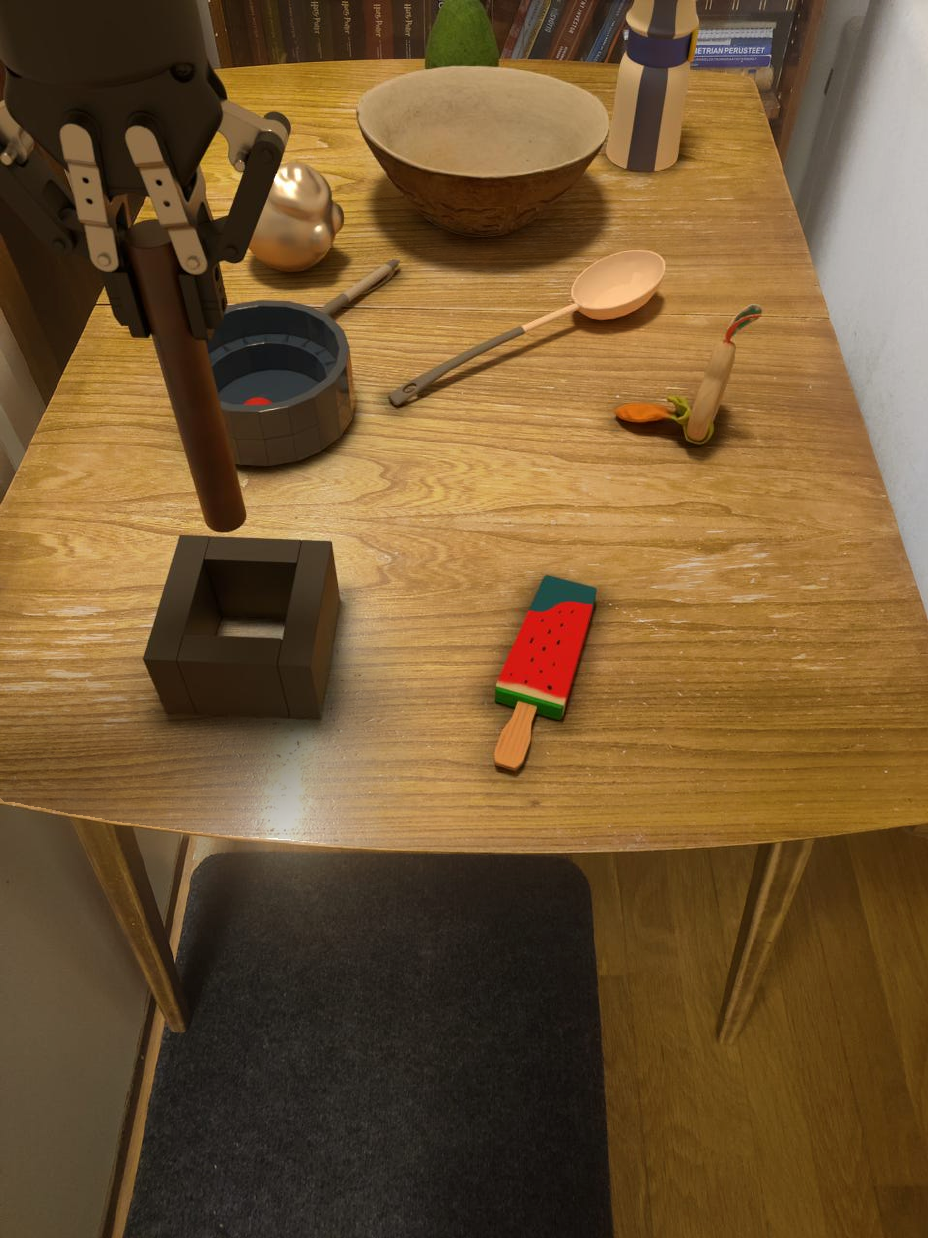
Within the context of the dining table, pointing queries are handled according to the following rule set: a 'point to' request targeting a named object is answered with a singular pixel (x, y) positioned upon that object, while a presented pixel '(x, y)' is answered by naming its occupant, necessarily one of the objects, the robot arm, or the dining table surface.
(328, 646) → the holder
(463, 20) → the fruit
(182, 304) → the stick
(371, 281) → the pen
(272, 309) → the dark grey round dish
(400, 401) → the ladle
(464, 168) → the bowl
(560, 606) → the popsicle
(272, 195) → the copper rounded figure
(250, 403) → the bead
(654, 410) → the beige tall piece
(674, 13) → the water bottle
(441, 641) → the dining table surface
